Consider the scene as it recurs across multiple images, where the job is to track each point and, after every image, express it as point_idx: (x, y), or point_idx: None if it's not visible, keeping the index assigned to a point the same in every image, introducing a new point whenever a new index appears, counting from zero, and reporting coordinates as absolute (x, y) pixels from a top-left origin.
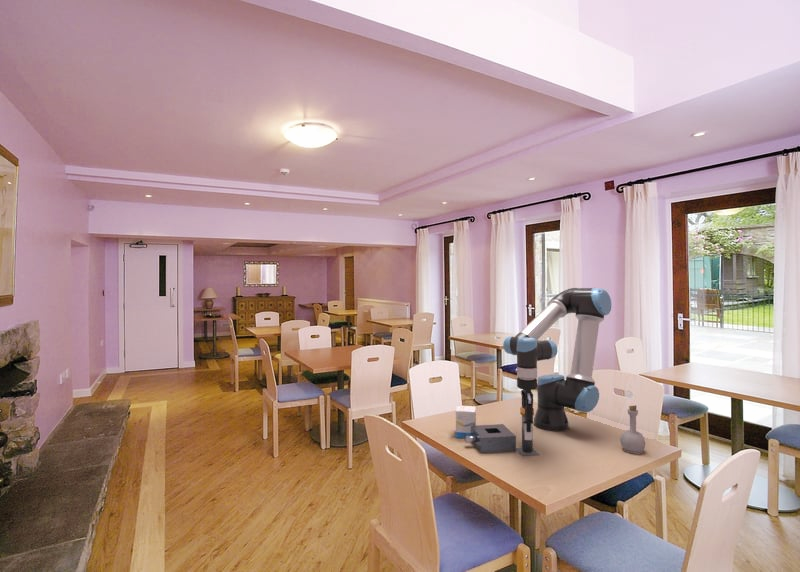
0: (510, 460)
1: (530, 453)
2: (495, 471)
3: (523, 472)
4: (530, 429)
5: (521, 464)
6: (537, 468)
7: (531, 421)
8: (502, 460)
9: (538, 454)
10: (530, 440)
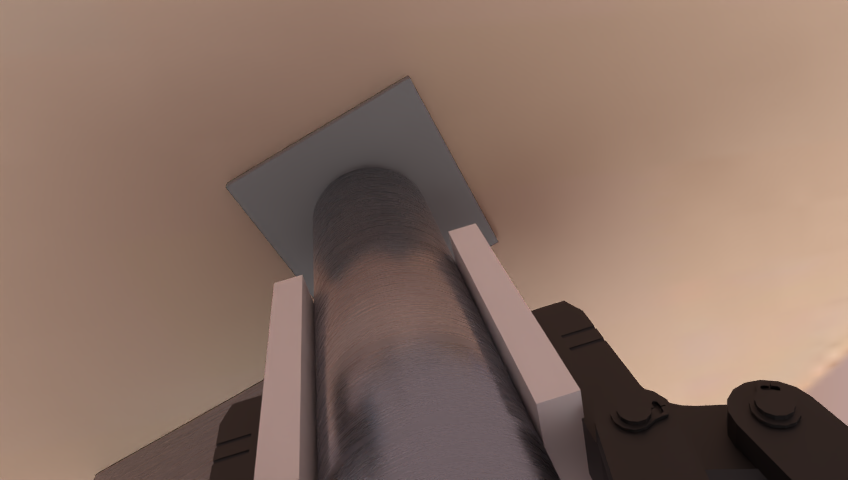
0: (609, 306)
1: (428, 177)
2: (809, 350)
3: (823, 174)
4: (594, 332)
5: (674, 214)
6: (742, 68)
7: (821, 438)
8: (621, 356)
9: (416, 92)
10: (439, 239)
